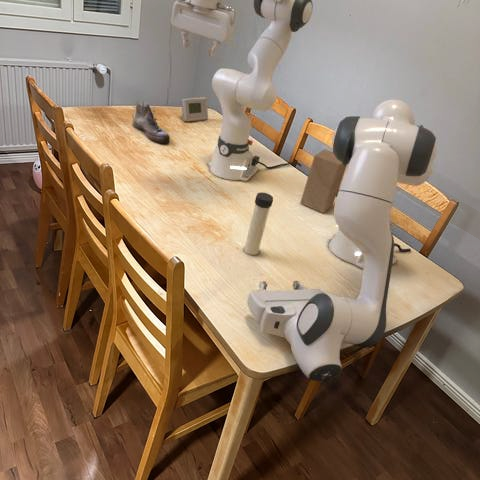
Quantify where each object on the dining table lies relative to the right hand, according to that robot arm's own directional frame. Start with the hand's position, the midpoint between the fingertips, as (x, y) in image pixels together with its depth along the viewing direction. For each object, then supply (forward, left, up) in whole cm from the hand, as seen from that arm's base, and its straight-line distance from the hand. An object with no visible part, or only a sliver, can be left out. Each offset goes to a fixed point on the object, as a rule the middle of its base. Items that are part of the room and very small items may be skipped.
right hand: (278, 282), depth 114 cm
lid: (0, -22, +13) cm, 26 cm away
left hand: (+17, -57, +42) cm, 73 cm away
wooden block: (-36, -53, -6) cm, 64 cm away
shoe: (+21, -112, -6) cm, 114 cm away
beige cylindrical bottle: (0, -22, -6) cm, 23 cm away
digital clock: (-3, -138, -6) cm, 138 cm away
